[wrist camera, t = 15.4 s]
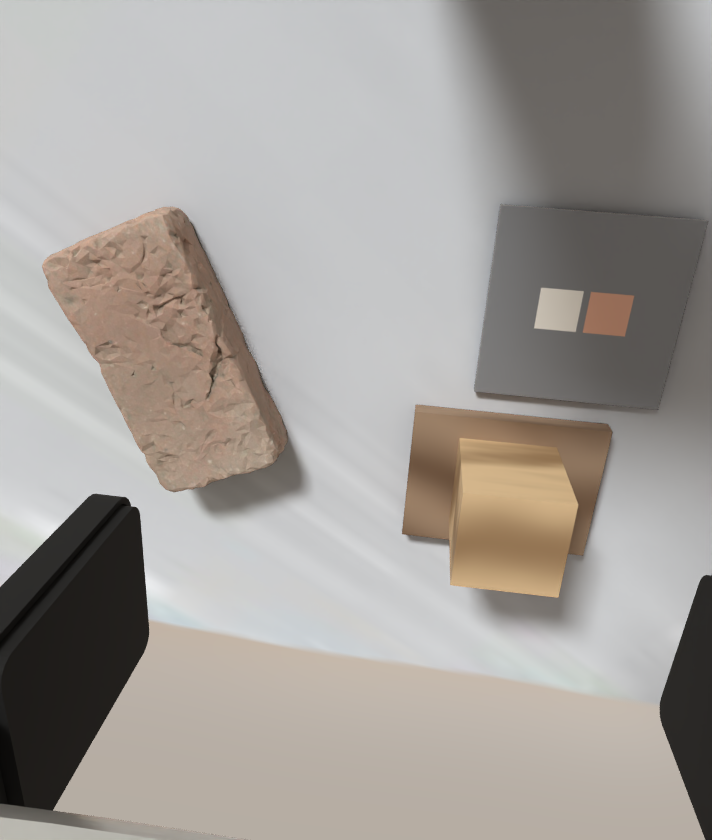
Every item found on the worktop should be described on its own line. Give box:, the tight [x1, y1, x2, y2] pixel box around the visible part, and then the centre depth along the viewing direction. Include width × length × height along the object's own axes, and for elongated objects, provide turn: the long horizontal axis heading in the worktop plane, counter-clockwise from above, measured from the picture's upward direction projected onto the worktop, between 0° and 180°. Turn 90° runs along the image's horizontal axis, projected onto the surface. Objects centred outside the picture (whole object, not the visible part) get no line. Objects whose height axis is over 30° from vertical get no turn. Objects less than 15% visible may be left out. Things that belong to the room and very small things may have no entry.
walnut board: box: [402, 405, 612, 556], centre depth 43 cm, size 9×12×1 cm
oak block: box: [449, 438, 578, 598], centre depth 39 cm, size 6×6×7 cm
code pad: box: [474, 204, 708, 410], centre depth 38 cm, size 11×11×1 cm
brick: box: [42, 207, 288, 492], centre depth 41 cm, size 17×8×5 cm, turn 21°
